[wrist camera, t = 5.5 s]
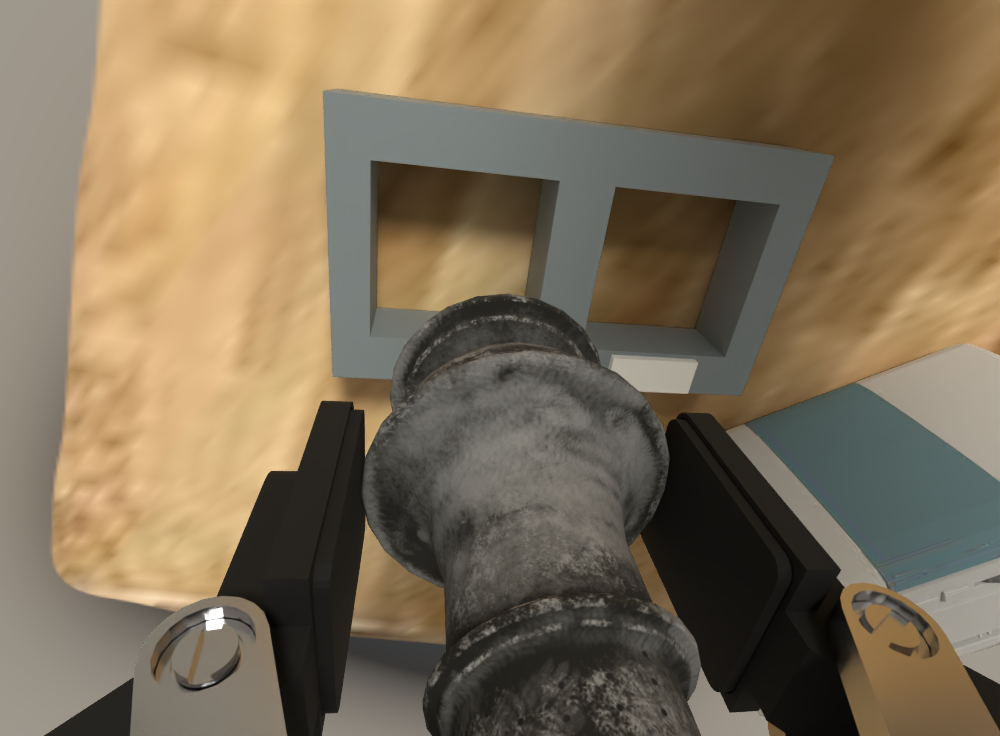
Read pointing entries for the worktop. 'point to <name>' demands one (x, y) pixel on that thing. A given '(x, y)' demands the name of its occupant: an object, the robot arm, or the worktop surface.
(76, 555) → the worktop surface
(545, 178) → the socket board
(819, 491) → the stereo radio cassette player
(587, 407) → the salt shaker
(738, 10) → the worktop surface
